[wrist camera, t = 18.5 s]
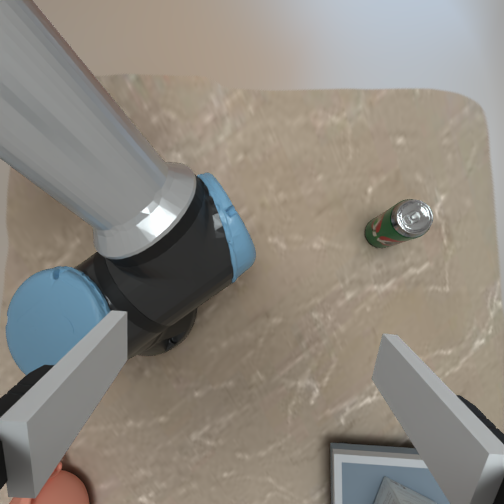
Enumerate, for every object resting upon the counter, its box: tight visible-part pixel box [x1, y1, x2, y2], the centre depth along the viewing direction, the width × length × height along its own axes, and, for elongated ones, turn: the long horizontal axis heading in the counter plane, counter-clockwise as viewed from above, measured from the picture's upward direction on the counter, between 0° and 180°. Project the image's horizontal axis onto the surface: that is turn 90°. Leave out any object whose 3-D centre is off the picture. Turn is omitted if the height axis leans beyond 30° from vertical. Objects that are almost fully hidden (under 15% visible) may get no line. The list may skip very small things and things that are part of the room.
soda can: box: [365, 199, 433, 248], centre depth 41 cm, size 5×5×12 cm
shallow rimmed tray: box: [330, 442, 450, 504], centre depth 40 cm, size 18×15×6 cm
